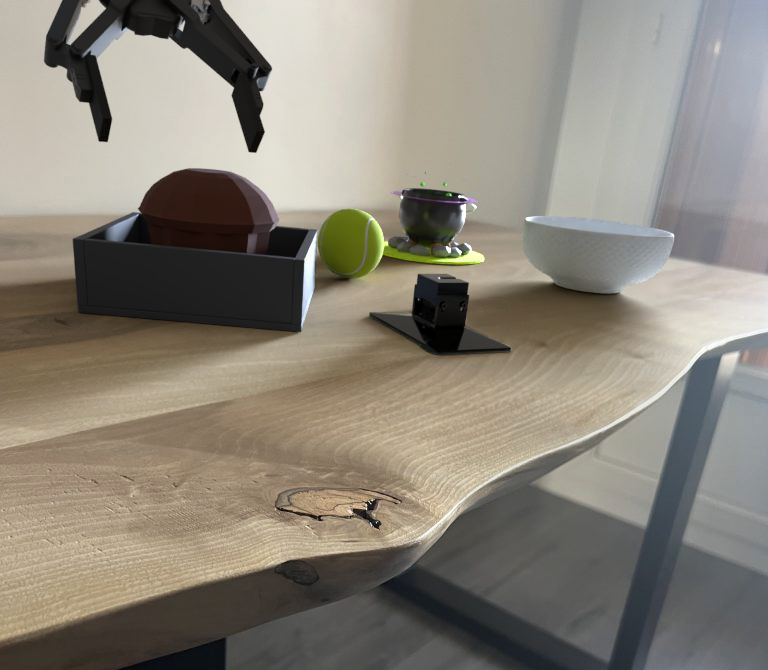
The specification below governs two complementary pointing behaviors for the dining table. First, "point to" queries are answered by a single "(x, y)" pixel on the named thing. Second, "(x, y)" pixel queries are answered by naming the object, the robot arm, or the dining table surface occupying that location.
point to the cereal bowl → (594, 252)
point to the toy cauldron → (432, 227)
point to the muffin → (209, 212)
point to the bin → (195, 278)
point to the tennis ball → (350, 243)
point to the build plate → (440, 318)
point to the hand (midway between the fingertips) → (184, 137)
